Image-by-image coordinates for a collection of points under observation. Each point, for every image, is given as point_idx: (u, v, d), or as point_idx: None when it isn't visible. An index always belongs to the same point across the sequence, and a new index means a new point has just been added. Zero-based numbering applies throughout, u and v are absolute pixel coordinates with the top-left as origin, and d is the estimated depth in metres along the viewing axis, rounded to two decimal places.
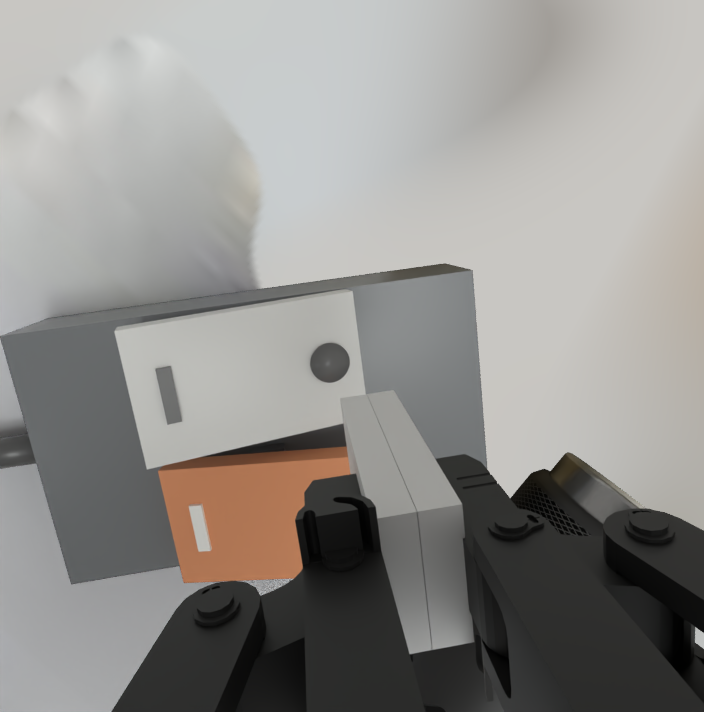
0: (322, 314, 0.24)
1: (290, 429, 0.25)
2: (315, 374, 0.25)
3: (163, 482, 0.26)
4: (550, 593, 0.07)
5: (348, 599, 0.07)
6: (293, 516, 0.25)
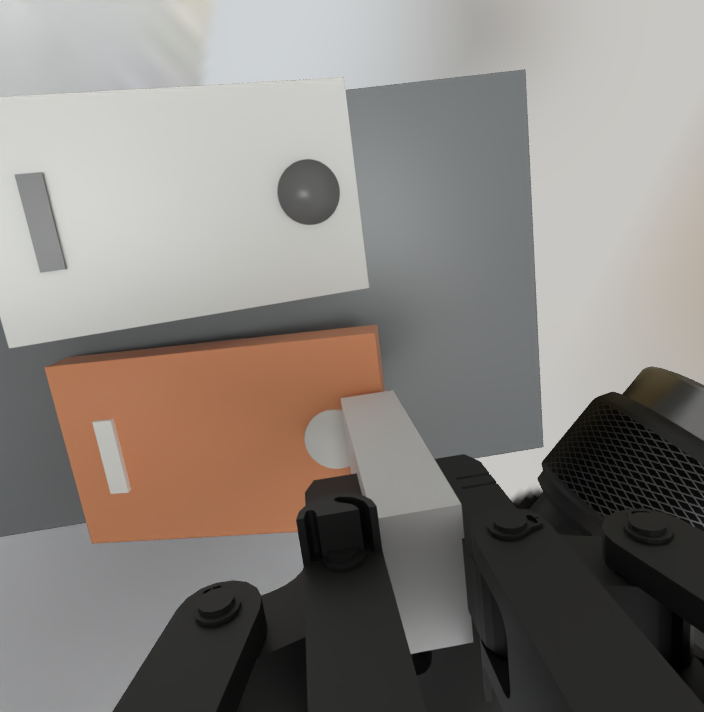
0: (296, 111, 0.15)
1: (247, 298, 0.16)
2: (285, 209, 0.16)
3: (54, 385, 0.17)
4: (549, 593, 0.07)
5: (349, 599, 0.07)
6: (253, 436, 0.16)
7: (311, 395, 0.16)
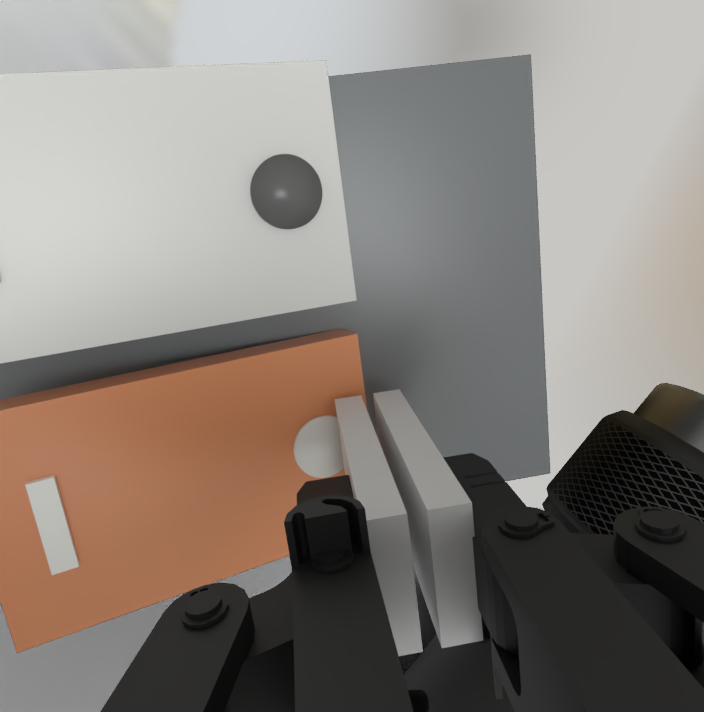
0: (271, 98, 0.13)
1: (216, 313, 0.14)
2: (260, 211, 0.14)
3: None
4: (561, 591, 0.07)
5: (337, 601, 0.07)
6: (236, 461, 0.15)
7: (298, 405, 0.15)
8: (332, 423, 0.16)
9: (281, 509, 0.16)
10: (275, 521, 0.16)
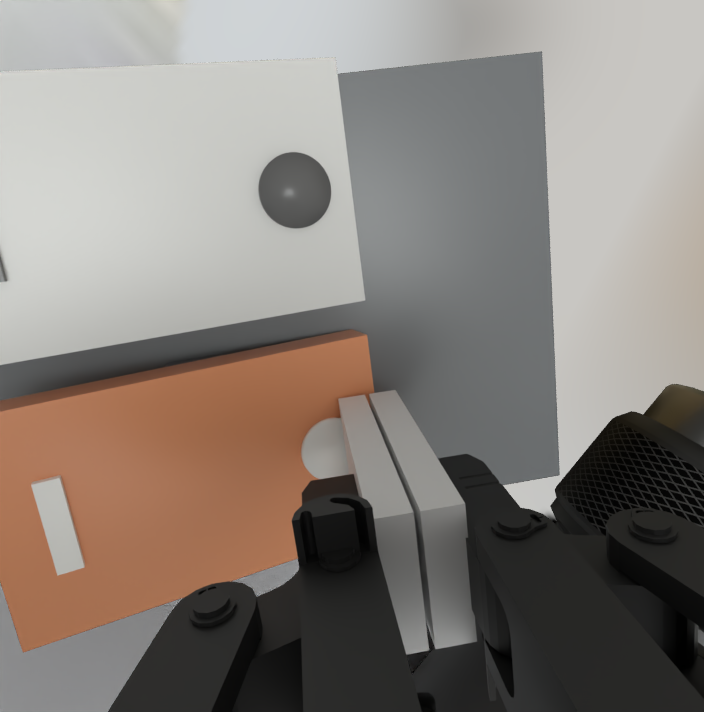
0: (280, 96, 0.13)
1: (224, 313, 0.14)
2: (268, 210, 0.13)
3: None
4: (553, 592, 0.07)
5: (345, 599, 0.07)
6: (243, 463, 0.15)
7: (306, 407, 0.15)
8: (341, 425, 0.15)
9: (288, 512, 0.15)
10: (282, 524, 0.15)
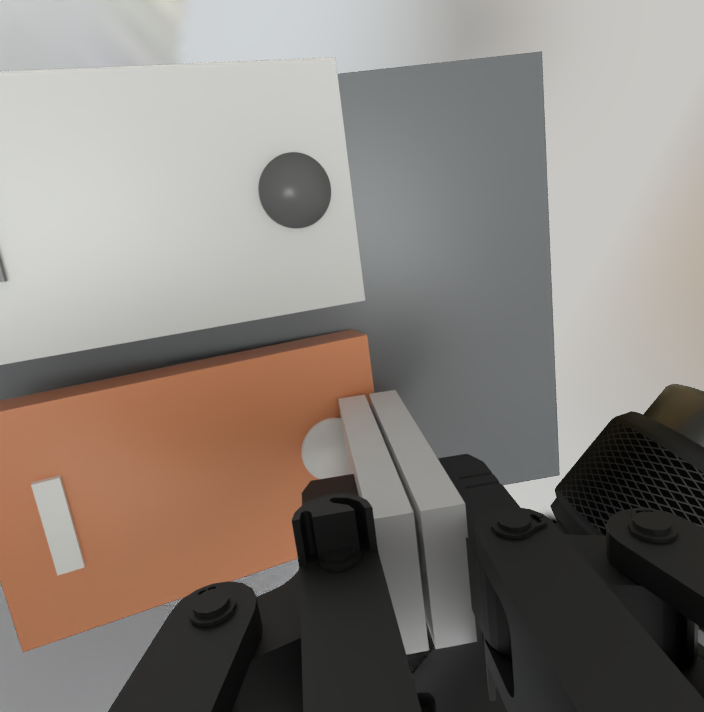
0: (279, 96, 0.13)
1: (224, 313, 0.14)
2: (268, 210, 0.13)
3: None
4: (553, 592, 0.07)
5: (345, 599, 0.07)
6: (243, 463, 0.15)
7: (306, 407, 0.15)
8: (341, 425, 0.15)
9: (288, 512, 0.15)
10: (282, 524, 0.15)
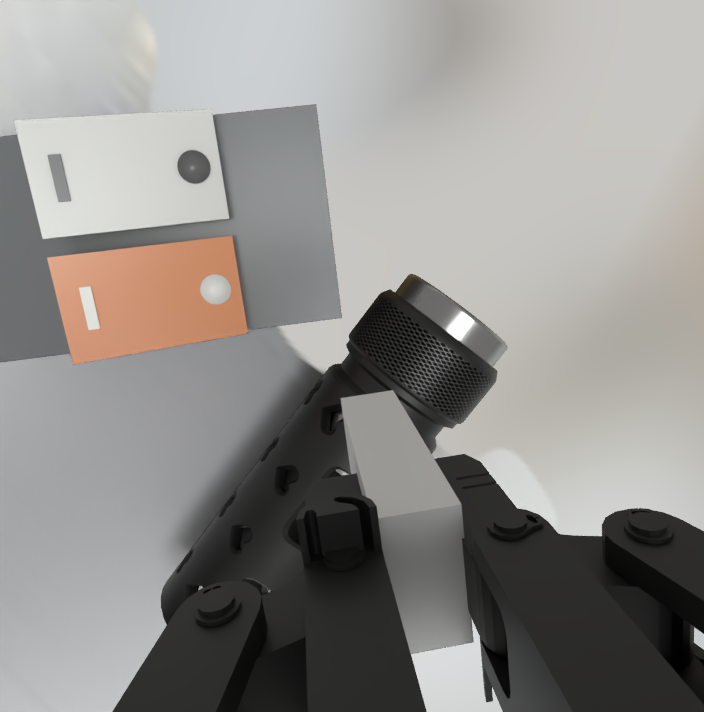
0: (186, 126, 0.31)
1: (162, 220, 0.31)
2: (181, 175, 0.31)
3: (52, 268, 0.30)
4: (549, 593, 0.07)
5: (349, 599, 0.07)
6: (172, 291, 0.32)
7: (202, 267, 0.33)
8: (219, 278, 0.33)
9: (194, 318, 0.33)
10: (191, 323, 0.33)
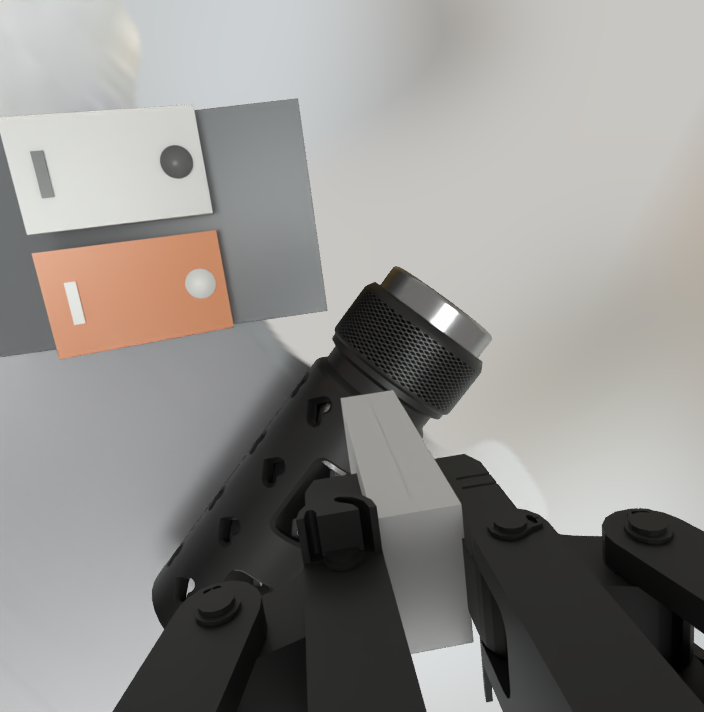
0: (168, 121, 0.31)
1: (146, 215, 0.32)
2: (164, 170, 0.31)
3: (37, 264, 0.30)
4: (549, 593, 0.07)
5: (349, 599, 0.07)
6: (157, 285, 0.33)
7: (187, 262, 0.33)
8: (204, 272, 0.33)
9: (180, 312, 0.33)
10: (177, 317, 0.33)
